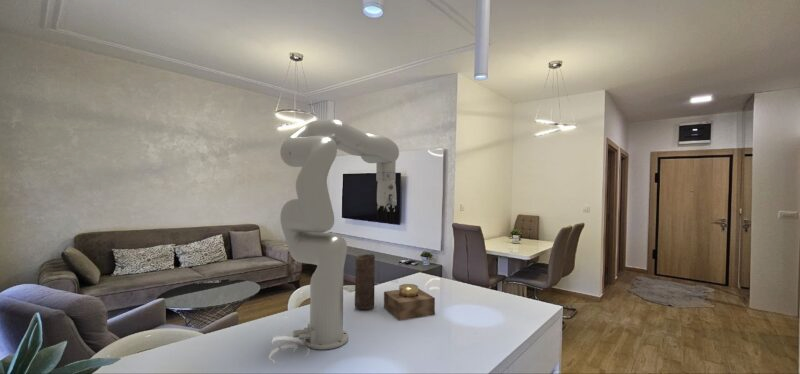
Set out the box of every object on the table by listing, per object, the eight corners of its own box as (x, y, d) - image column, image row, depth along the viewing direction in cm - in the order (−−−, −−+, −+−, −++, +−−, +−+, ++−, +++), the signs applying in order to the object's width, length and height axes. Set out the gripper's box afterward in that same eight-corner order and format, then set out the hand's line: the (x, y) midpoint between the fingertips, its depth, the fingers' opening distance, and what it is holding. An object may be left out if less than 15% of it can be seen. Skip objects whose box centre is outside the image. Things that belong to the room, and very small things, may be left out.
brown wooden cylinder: (373, 312, 126) (373, 257, 127) (353, 311, 127) (353, 256, 127) (375, 305, 134) (375, 253, 134) (356, 304, 134) (356, 253, 134)
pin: (403, 314, 123) (403, 290, 123) (395, 307, 130) (396, 285, 130) (421, 311, 126) (421, 287, 126) (412, 305, 133) (412, 283, 133)
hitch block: (398, 320, 119) (399, 302, 119) (383, 307, 131) (384, 291, 131) (434, 314, 124) (434, 297, 124) (417, 302, 137) (417, 287, 137)
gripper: (403, 176, 130) (403, 222, 130) (386, 178, 146) (386, 218, 145) (385, 176, 127) (384, 223, 127) (369, 177, 143) (369, 219, 142)
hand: (385, 221), depth 136 cm, fingers open, 9 cm apart
